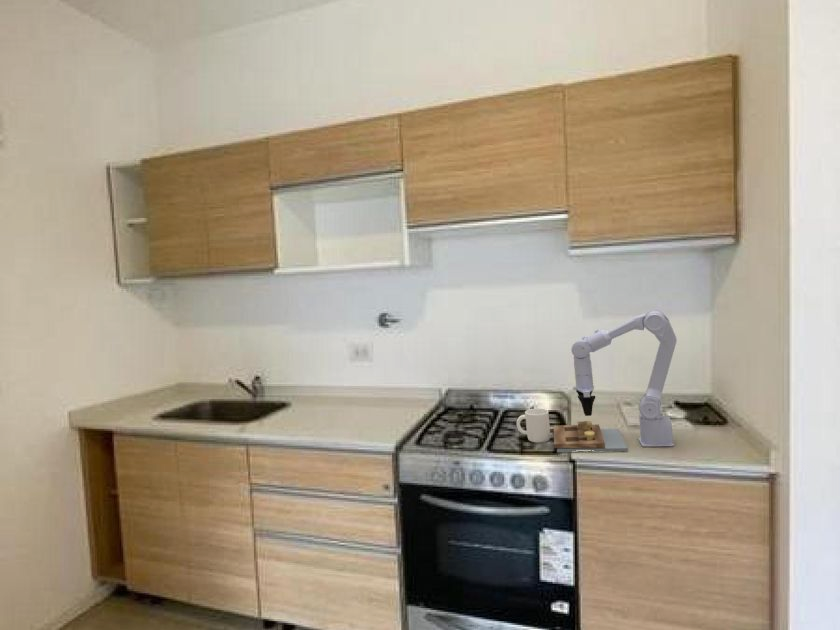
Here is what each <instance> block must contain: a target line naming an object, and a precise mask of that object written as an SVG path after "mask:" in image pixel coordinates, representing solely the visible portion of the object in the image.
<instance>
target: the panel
mask: <svg viewBox="0 0 840 630" xmlns="http://www.w3.org/2000/svg"><path fill="white" fill-rule="evenodd" d="M587 421H588V420H584V421H577V424H572V425H571V424H570V425H569V424H566V425H564V424H563V425H562V424H561V425H553V445H554V447H553V448H554V449H557V448H605V442H604V439H603V436H602V433H601V430H600V429H601V427H600V424H592V426H590V430H588V426H587ZM585 431H594V433H595V436H593V440H587V436H585V434H584V432H585ZM566 441H571V442H566Z"/></svg>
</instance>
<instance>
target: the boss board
mask: <svg viewBox="0 0 840 630" xmlns="http://www.w3.org/2000/svg"><path fill="white" fill-rule="evenodd" d="M586 421H587V426H588V430H590V426H592V425H593V424H592V423H593V422H592V421H589V420H586ZM600 430H601V433H602V436H603V439H604V442H605V448H556V453H573V452H572V451H576V450H591V451H592V450H594V451H628V450H629V448H628V446H627V444H626V442H625V439H624V437H623V434H622V432H621V430H620V428H600ZM584 434H585V436H587V440H593V436H595V433H594V431H585V432H584ZM566 442H571V441H566ZM628 452H629V451H628Z"/></svg>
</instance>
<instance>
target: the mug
mask: <svg viewBox="0 0 840 630" xmlns="http://www.w3.org/2000/svg"><path fill="white" fill-rule="evenodd" d="M523 420H525V426H526V427H525V428H526V430H524V429H523V428H522V427H521V421H523ZM550 425H551V424H550V414H549V410H548V409H545V408H531V409H527V410H525V411H524V414H522V415H520V416H518V418H517V420H516V428H517V429H518V432H520V433H521V434H523V435H527V439H528V441H530V443H538V444H539V443H546V442H548V441H550V440H551V427H550Z"/></svg>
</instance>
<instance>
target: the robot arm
mask: <svg viewBox="0 0 840 630" xmlns="http://www.w3.org/2000/svg"><path fill="white" fill-rule="evenodd" d="M644 329H646V330H647V331H648V332H650V333H651V334H653V335H654V336H655V338H656V339H657V340H658V342H659V346H658V349H657V352H656V356H655V360H654V363H653V366H652V370H651V374H650V378H649V380H648V381H649V382H648V384H647V387H646V390H645V394H643V395H642V397H641V398H640V402H639V403H640V404H639V407H638V410H639V411H638V412H639V414H638V418H639V429H640V437H637V439H638V441H639V443H640V445H641V446H642V447H644V448H645V447H653V448H654V447H674V445H675V444H674V435H673V424H672V420H671V418H670V416H667V415H664V414H663V413H662V411H661V406H662V402H661V399H662V394H663V390H664V386H665V383H666V380H667V375H668V372H669V369H670V365H671V362H672V358H673V355H674V352H675V349H676V345H677V336H676V333H675V331H674V329H673V326H672V324H671V322H670V319H669V318H668V317H667V316H666V314H664V312H662V311H661V310H659V309H653V310H650V311H648V312H647V313H646V312H644V313H642V314H639V315H637V316H634V317H632V318H629V319H628V320H626V321H624V322H622V323H620V324H618V325H616V326H614V327H613V328H611V329H608V330H605V329H596V330H594V332H593V333H591V334H589V335H588V336H585V335H584V336H582V337H581V339H578V340H577V341H575V342H574V343H573V344H572V346H571V350H570V351H571V353H572V355H573V360H574V361H573V367H574V377H575V386H573V387H572V390H574V391H576V393H577V398H578V400H579V402H580V405H581V407H582V410H583V414H584V417H589V416H592V413H593V408H594V407H593V406H594V402H595V400H596V395H592V394H593V391H594V390H595V386H594V379H593V369H592V360H591V353H595V352H596V351H599V350H601V349H603V348H605V347H607V346H610V345H611V343H612V341H613V340H614V339H616V338H618V337H620V336H622V335H625V334H627V333H630V332H632V331H634V330H638V331H644Z"/></svg>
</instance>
